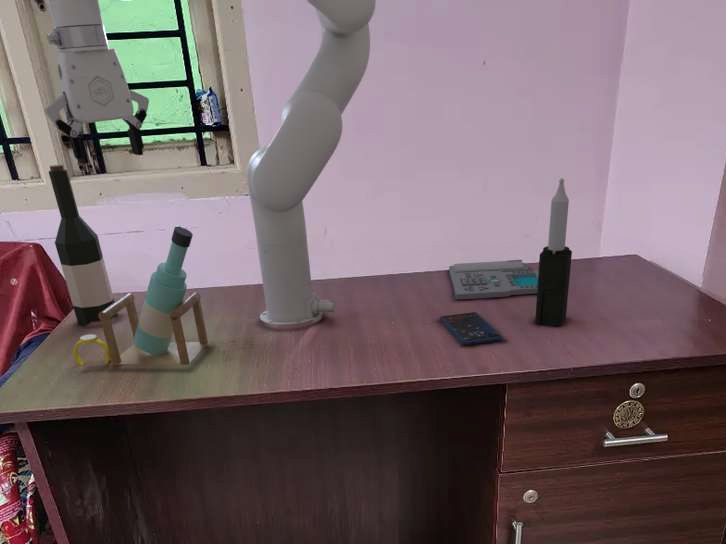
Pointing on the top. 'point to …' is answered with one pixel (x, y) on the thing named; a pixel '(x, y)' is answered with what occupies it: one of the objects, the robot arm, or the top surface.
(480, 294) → the office telephone
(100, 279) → the wine bottle
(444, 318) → the smartphone
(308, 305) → the robot arm
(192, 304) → the caddy
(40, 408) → the top surface
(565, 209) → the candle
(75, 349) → the watch
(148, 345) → the bottle
